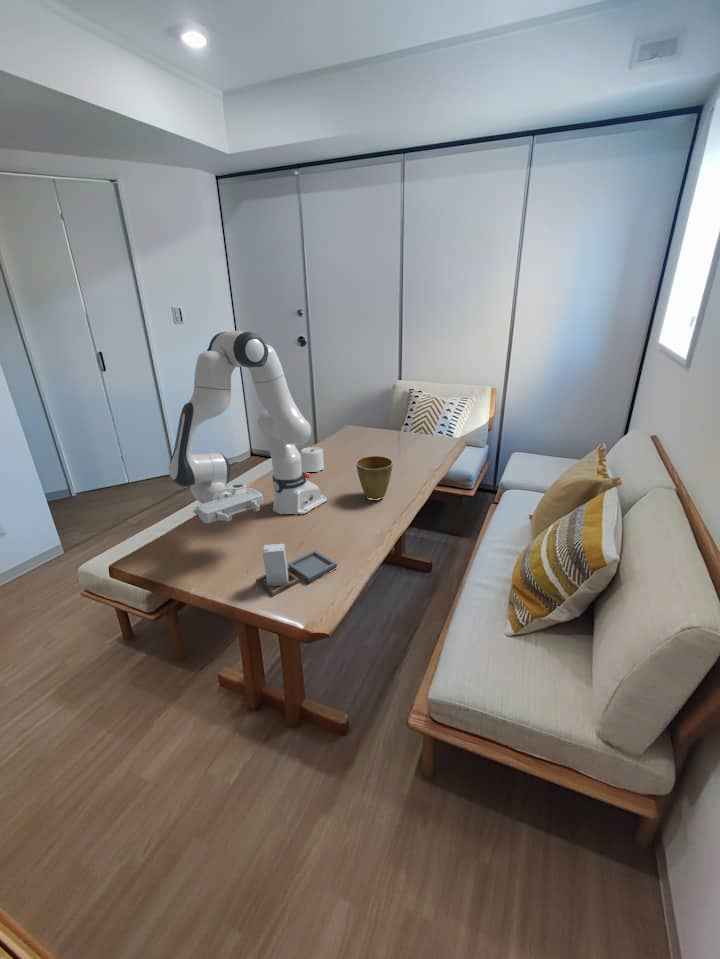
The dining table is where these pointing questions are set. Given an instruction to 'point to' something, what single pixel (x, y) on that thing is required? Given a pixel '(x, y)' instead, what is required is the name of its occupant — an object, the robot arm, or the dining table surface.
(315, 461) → the toilet tissue
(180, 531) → the dining table surface
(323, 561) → the tray
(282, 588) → the brown wooden square frame
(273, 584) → the skincare box
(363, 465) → the plant pot
